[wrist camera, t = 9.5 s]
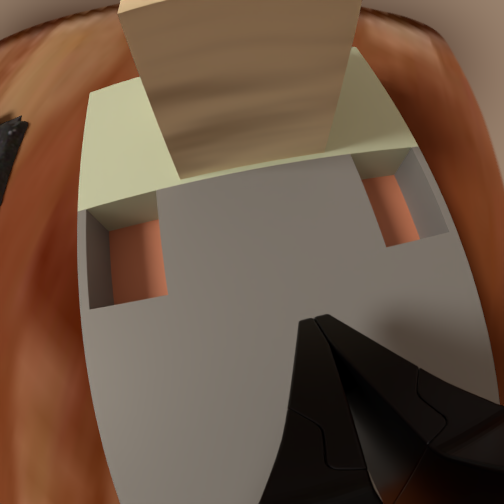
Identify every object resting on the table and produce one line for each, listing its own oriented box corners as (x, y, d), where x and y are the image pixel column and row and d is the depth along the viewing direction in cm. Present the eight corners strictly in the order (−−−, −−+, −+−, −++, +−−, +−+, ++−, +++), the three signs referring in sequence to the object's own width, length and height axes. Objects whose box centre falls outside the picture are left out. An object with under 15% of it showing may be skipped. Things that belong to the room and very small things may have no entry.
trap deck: (466, 429, 13) (502, 437, 10) (155, 511, 13) (133, 537, 9) (346, 81, 21) (355, 47, 18) (107, 125, 21) (90, 93, 17)
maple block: (324, 152, 15) (364, -14, 7) (180, 179, 15) (117, 13, 6) (280, 56, 18) (286, -70, 9) (169, 75, 17) (136, -51, 9)
